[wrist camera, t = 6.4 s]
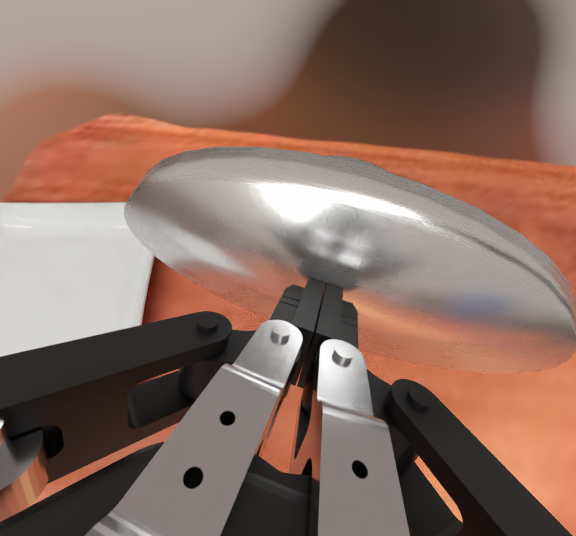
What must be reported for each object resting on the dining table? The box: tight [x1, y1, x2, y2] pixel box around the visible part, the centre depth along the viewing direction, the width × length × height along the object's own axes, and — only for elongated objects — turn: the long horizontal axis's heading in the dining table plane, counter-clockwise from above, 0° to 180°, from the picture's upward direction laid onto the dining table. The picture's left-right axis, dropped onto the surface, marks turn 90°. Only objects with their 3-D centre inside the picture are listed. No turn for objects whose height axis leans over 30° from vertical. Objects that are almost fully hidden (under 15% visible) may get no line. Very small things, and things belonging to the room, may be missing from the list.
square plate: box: [0, 202, 155, 357], centre depth 35 cm, size 27×27×4 cm
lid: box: [124, 147, 576, 374], centre depth 16 cm, size 22×21×2 cm
